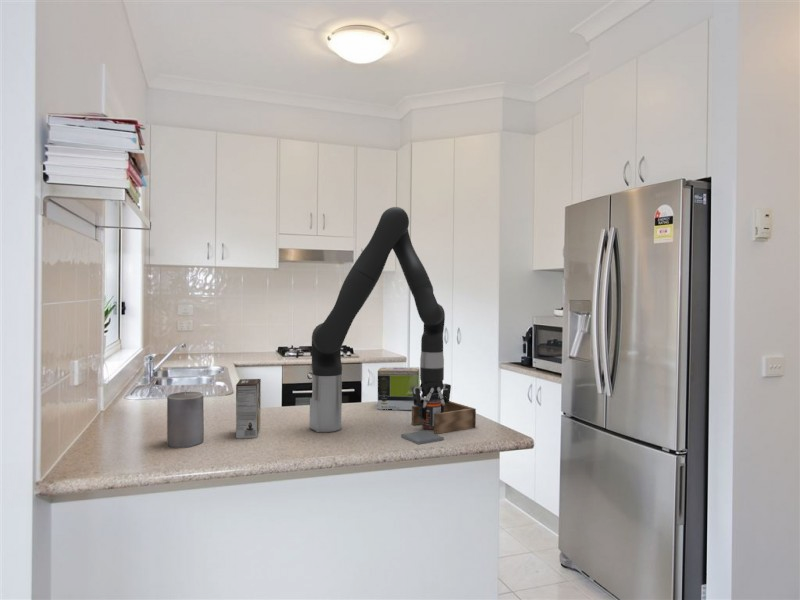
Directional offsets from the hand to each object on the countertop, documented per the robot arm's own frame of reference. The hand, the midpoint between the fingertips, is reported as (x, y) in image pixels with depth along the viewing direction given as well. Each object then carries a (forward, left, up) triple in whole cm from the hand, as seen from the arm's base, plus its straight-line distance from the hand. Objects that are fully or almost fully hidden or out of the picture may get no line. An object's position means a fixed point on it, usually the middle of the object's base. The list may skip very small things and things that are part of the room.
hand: (431, 417), depth 174 cm
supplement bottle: (0, 0, -3) cm, 3 cm away
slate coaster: (-10, -9, -3) cm, 13 cm away
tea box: (+7, +30, -3) cm, 31 cm away
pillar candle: (-70, +22, -3) cm, 74 cm away
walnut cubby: (+4, 0, -3) cm, 5 cm away
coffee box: (-52, +22, -3) cm, 57 cm away
